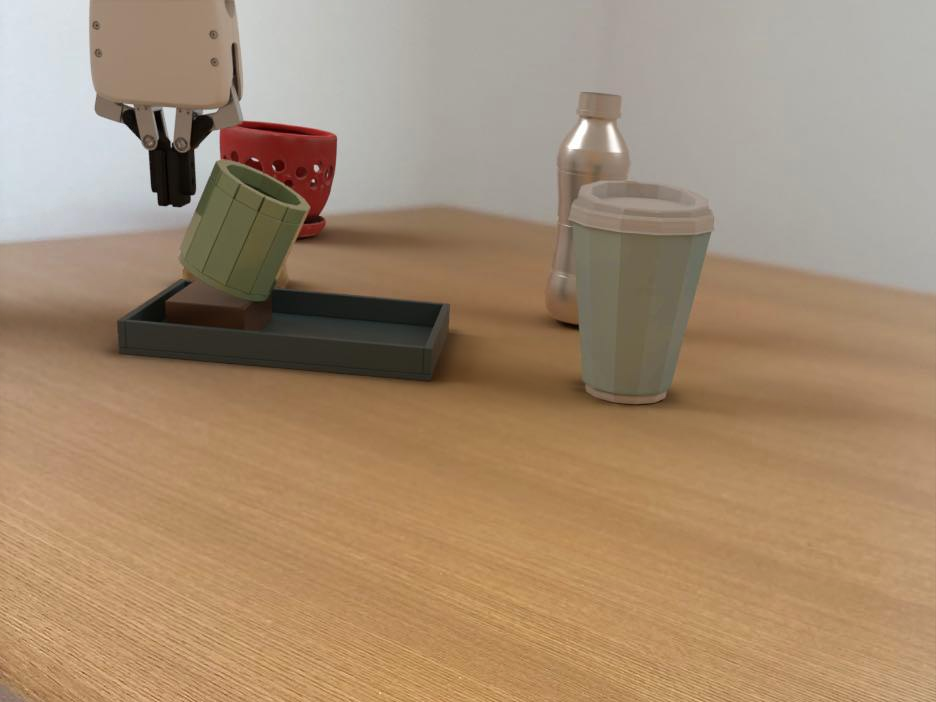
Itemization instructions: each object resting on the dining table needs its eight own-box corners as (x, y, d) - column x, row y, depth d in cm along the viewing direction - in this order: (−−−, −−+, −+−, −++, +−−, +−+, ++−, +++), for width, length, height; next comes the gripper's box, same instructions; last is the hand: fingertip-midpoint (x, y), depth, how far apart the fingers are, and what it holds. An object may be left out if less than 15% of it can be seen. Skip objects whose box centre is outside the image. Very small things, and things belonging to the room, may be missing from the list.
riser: (166, 339, 86) (164, 300, 85) (200, 313, 95) (199, 277, 93) (245, 346, 87) (244, 308, 85) (272, 319, 95) (272, 283, 94)
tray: (118, 353, 84) (116, 320, 83) (181, 307, 98) (179, 278, 97) (430, 381, 84) (432, 349, 83) (448, 332, 98) (450, 303, 97)
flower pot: (279, 247, 125) (279, 133, 120) (197, 228, 132) (193, 119, 127) (358, 237, 136) (360, 131, 131) (279, 219, 142) (278, 118, 137)
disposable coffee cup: (709, 417, 82) (741, 205, 76) (564, 412, 80) (586, 195, 74) (670, 375, 92) (696, 183, 86) (540, 369, 90) (557, 173, 84)
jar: (164, 262, 85) (205, 164, 82) (194, 245, 92) (232, 154, 89) (255, 310, 86) (298, 216, 83) (277, 289, 93) (317, 202, 90)
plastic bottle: (601, 336, 101) (628, 98, 93) (531, 324, 103) (551, 90, 95) (622, 322, 107) (648, 97, 99) (555, 311, 109) (575, 89, 101)
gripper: (277, -53, 83) (283, 205, 90) (72, -70, 82) (95, 190, 90) (252, -61, 76) (260, 219, 83) (28, -79, 76) (57, 203, 83)
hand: (174, 203), depth 87 cm, fingers closed
